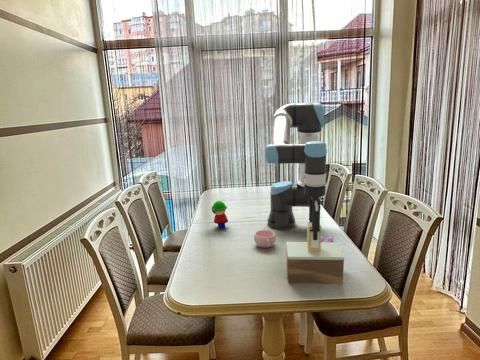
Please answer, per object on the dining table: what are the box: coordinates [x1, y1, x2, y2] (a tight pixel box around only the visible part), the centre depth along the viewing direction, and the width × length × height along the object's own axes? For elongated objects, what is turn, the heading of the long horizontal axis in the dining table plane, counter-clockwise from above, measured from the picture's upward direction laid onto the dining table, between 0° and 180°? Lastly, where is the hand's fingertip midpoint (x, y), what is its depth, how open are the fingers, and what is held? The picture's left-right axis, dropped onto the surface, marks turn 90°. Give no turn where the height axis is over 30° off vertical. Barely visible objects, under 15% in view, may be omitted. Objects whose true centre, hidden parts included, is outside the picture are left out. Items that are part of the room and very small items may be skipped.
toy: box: [211, 200, 229, 230], centre depth 180 cm, size 9×9×15 cm
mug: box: [253, 229, 277, 249], centre depth 156 cm, size 12×10×6 cm
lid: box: [286, 222, 345, 261], centre depth 127 cm, size 13×20×12 cm, turn 84°
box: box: [286, 255, 345, 285], centre depth 129 cm, size 13×20×10 cm, turn 84°
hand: (313, 243), depth 128 cm, fingers open, 5 cm apart
